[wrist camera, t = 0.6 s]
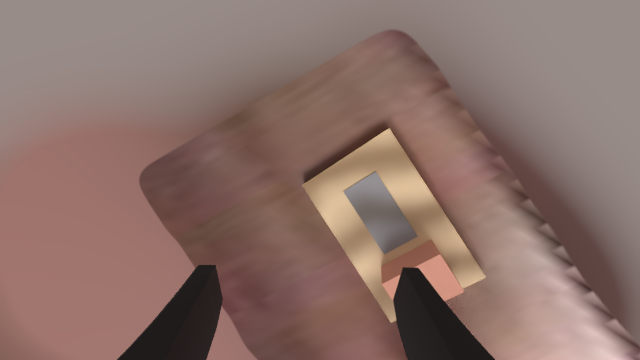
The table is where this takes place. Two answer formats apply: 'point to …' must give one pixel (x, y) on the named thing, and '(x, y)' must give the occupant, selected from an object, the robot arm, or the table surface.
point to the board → (386, 214)
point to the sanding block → (423, 271)
